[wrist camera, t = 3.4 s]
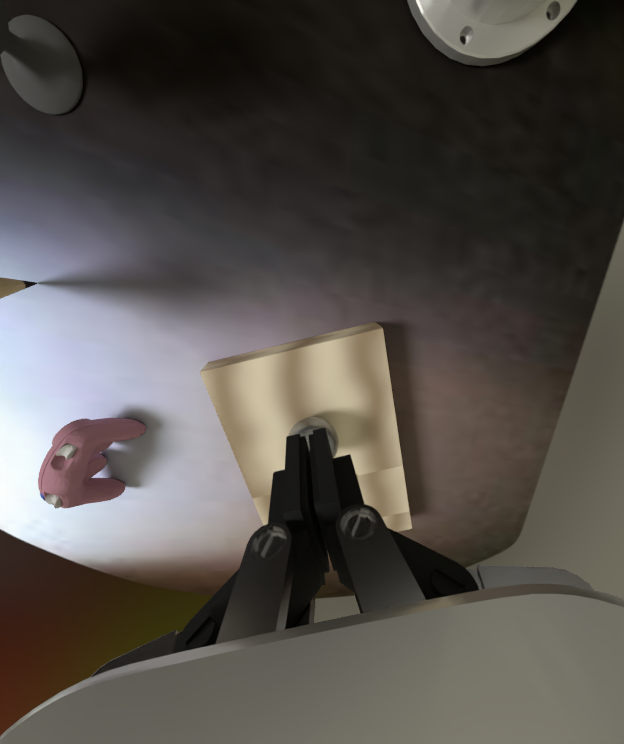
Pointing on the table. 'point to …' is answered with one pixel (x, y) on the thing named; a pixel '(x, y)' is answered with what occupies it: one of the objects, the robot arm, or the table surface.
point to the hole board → (314, 411)
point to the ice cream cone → (12, 286)
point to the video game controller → (83, 461)
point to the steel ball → (313, 423)
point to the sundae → (40, 63)
